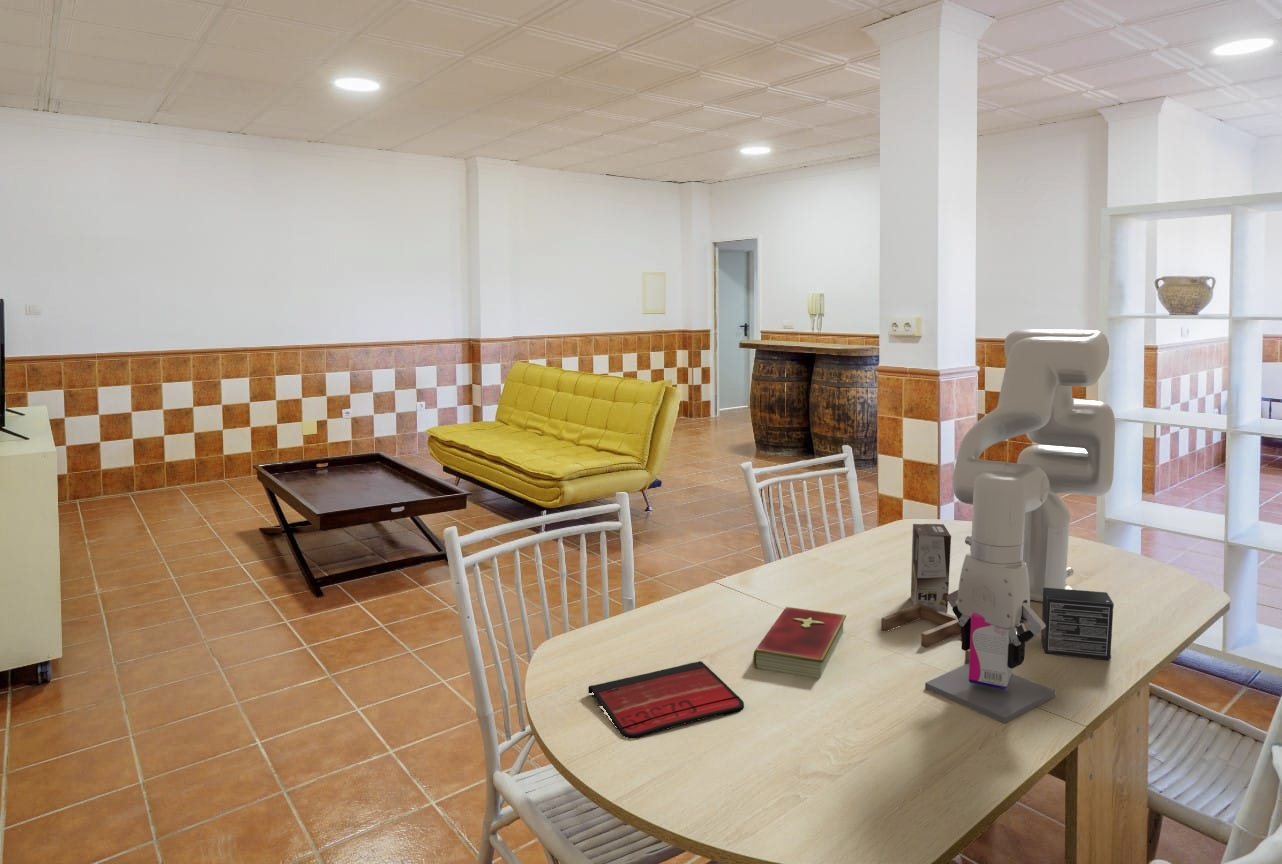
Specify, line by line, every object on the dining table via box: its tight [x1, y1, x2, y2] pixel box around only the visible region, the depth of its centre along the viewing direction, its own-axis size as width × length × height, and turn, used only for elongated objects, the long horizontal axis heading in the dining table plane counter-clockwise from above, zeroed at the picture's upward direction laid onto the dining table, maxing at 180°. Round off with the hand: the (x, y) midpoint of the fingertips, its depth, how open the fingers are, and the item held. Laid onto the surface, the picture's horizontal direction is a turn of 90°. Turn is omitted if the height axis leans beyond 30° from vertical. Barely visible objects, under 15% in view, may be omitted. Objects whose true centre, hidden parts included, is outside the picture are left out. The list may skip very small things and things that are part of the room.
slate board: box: [924, 663, 1057, 725], centre depth 133 cm, size 14×14×1 cm
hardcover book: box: [752, 606, 847, 679], centre depth 150 cm, size 12×21×4 cm, turn 156°
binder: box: [587, 660, 745, 739], centre depth 132 cm, size 16×2×21 cm
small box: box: [1040, 588, 1115, 661], centre depth 147 cm, size 11×6×10 cm, turn 71°
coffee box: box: [910, 523, 952, 614], centre depth 169 cm, size 9×6×16 cm
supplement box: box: [969, 613, 1013, 690], centre depth 132 cm, size 6×6×12 cm
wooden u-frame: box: [880, 604, 970, 665], centre depth 153 cm, size 12×19×2 cm, turn 35°
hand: (991, 656), depth 132 cm, fingers closed on supplement box, 7 cm apart
